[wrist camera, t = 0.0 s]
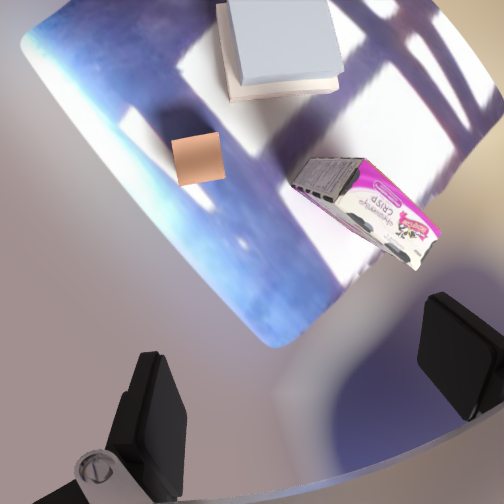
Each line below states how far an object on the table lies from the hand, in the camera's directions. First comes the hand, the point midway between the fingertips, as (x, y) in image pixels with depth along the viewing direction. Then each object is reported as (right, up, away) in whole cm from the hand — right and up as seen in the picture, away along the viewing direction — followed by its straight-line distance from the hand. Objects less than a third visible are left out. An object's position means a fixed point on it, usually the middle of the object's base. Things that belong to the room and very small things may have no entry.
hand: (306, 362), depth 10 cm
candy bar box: (+9, +11, +30) cm, 34 cm away
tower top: (+1, +28, +21) cm, 35 cm away
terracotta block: (-8, +15, +27) cm, 32 cm away
